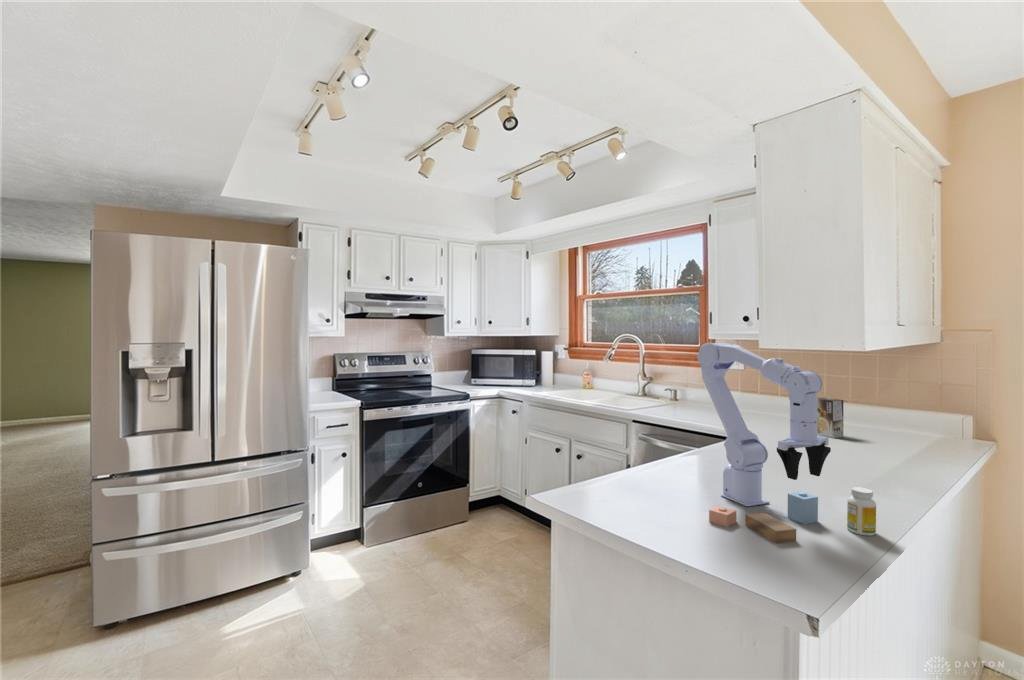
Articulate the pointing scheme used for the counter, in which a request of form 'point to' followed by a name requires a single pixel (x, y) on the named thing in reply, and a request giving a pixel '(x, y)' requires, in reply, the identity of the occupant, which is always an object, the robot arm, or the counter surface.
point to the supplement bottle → (861, 512)
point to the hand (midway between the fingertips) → (803, 476)
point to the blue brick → (803, 507)
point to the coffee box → (830, 417)
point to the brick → (722, 516)
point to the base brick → (770, 527)
